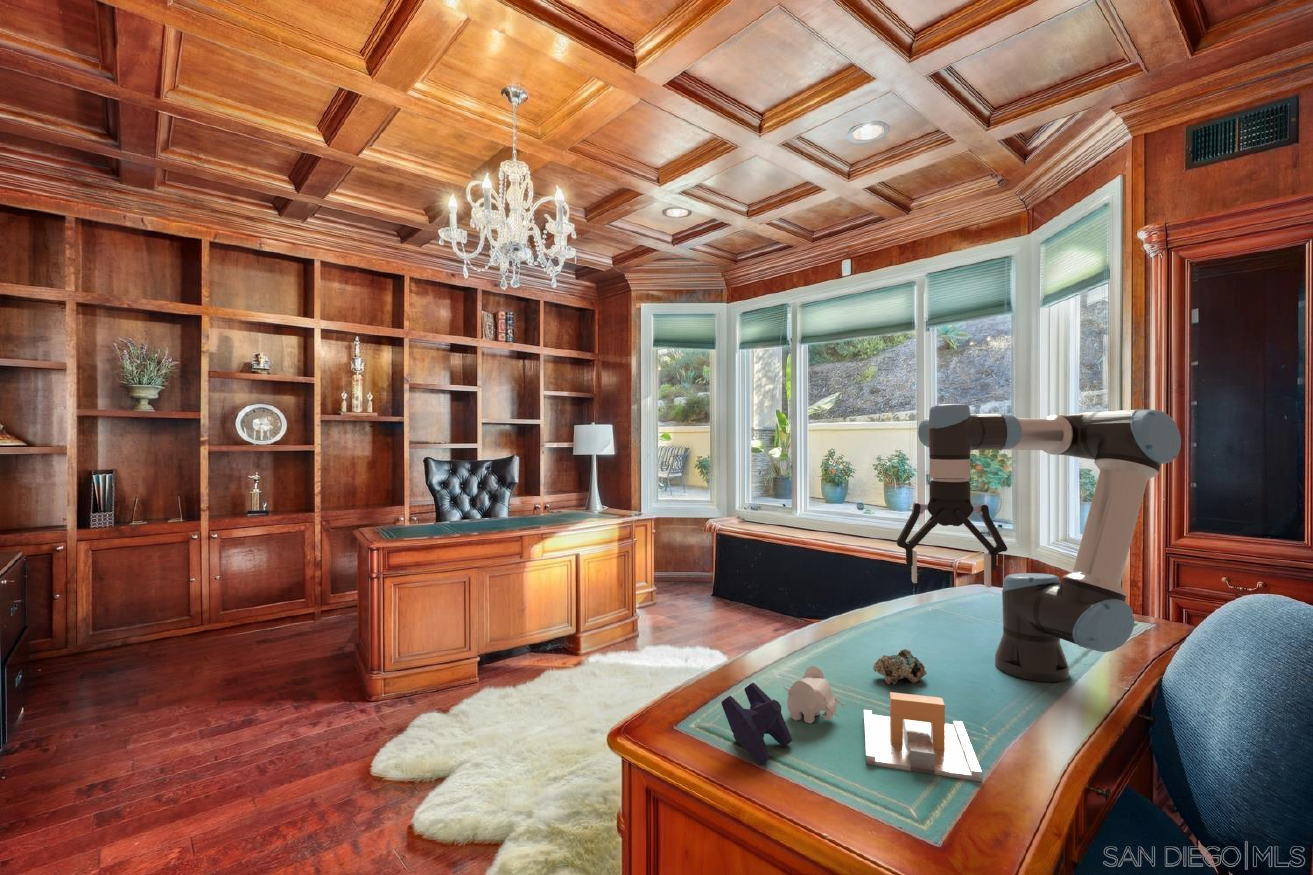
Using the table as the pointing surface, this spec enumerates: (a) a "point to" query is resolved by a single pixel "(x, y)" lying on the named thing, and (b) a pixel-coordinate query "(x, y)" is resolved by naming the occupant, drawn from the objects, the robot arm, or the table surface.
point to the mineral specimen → (900, 667)
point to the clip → (917, 716)
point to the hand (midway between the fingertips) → (950, 583)
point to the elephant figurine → (811, 697)
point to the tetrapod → (756, 722)
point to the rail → (920, 748)
